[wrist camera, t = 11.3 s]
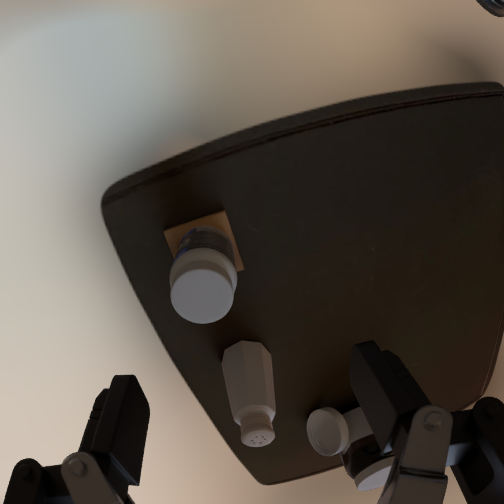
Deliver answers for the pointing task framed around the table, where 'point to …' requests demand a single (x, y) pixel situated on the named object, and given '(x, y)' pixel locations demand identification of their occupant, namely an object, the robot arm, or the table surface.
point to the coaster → (215, 220)
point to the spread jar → (350, 444)
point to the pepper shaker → (250, 391)
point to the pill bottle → (203, 275)
